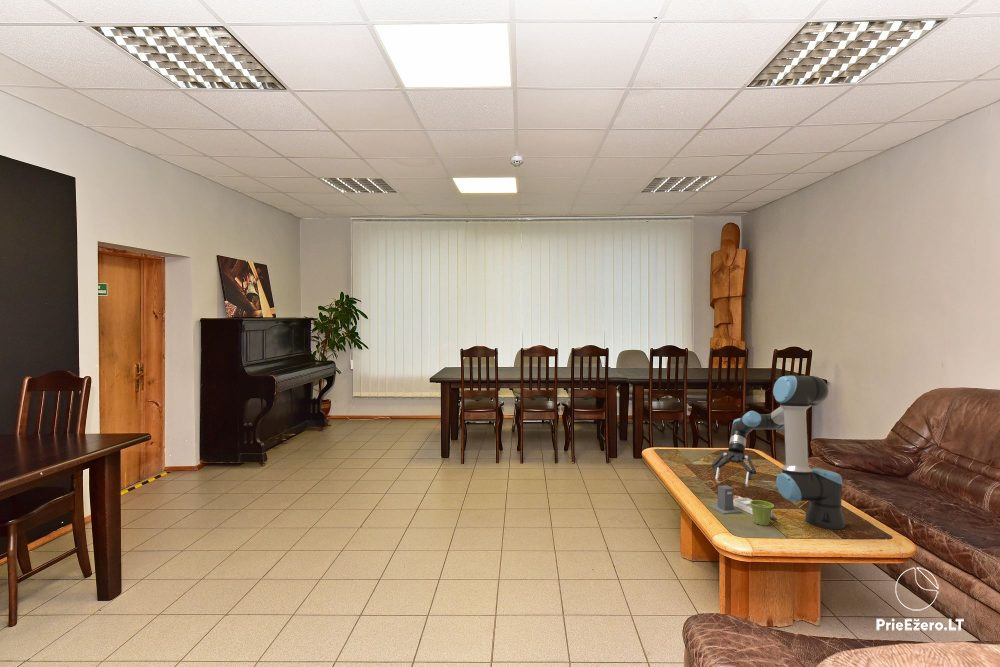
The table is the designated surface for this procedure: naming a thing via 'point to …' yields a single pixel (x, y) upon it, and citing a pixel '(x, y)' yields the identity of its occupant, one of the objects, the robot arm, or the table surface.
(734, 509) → the pad
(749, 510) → the white slab
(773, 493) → the table surface
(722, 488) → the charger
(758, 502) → the plant pot
